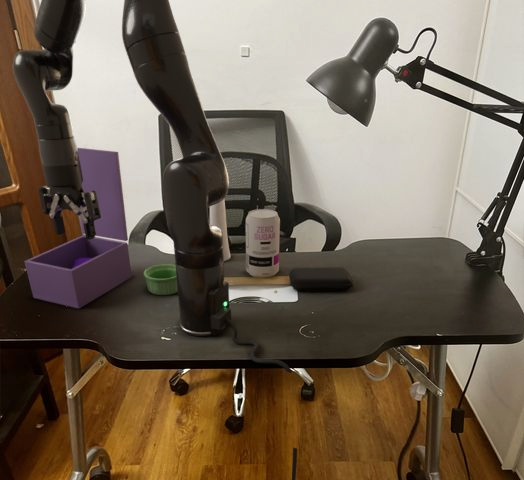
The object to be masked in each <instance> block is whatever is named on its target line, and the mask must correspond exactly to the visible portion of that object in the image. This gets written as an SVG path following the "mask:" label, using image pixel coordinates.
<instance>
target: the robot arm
mask: <svg viewBox="0 0 524 480" xmlns="http://www.w3.org/2000/svg"><path fill="white" fill-rule="evenodd" d="M86 4H87V2H86V0H41V1H40V4H39V8H38V11H37V14H36V17H35V21H34V24H33V25H34V26H33V35H34V39H35V40H36V42H37V43H38V44H39V45H40V46H41V47H42V48H43V49H21V50H19V51H17V52H16V53H15V54H14V57H13V60H12V73H13V76H14V79H15V82H16V84H17V86H18V89H19V90H20V92H21V94H22V96H23V98H24V100H25V103H26V105H27V107H28V109H29V111H30V113H31V115H32V118H33V123H34V128H35V132H36V137H37V143H38V152H39V158H40V161H41V166H42V170H43V175H44V180H45V184H46V185H43V186H40V187H38V189H37V190H38V196H39V202H40V206H41V211H42V213H43V215H48V216H49V217H50V219H51V221H52V226H53V229H54V230H53V231H54V232H55V234H56V235H60V236H61V235H63V234H65V233H66V228H65V223H64V219H63V216H62V214H63V211H64V210H68V211H70V212H71V211H72V212H73V213H74V214H75V215H76V216H79V219H80V218H81V219H82V220H83V222H84V223H83V225H84V230H85V234H84V235H85V236H86V239H88V240H91V239H93V238H94V237H97V236H96V231H95V226H94V221H95V220H97V219H100V218H101V214H100V209H99V205H98V200H97V195H96V192H95V191H94V190H93V191H89V192H84V190H83V188H82V182H83V176H82V170H81V165H80V159H79V154H78V149H77V148H78V145H77V141H76V138H75V134H74V128H73V123H72V118H71V113H70V111H69V109H68V107H67V106H65V105H63V104H59V103H53V102H52V101H51V100H50V98H49V96H48V94H47V92H53V91H62V90H64V89H65V88H67V87H68V86H69V85H70V83H71V81H72V79H73V76H74V60H75V44H76V42H77V40H78V37H79V35H80V32H81V29H82V26H83V23H84V20H85V15H86V10H87V9H86V8H87V7H86V6H87V5H86ZM121 38H122V44H123V46H124V50H125V53H126V56H127V58H128V62H129V64H130V67H131V70H132V72H133V76H134V78H135V80H136V82H137V85H138V86H139V87H140V90H141V91H142V92H143V93H144V95H145V97H146V98H147V99H148V100H149V102H150V103H151V104H152V106H154V108H155V109H156V110H157V111H158V112H159V114H160V115H161V116H162V117H163V118H164V120H165V121H166V122H167V123H168V125H169V126H170V128H171V130H172V131H173V133H174V136H175V138H176V140H177V144H178V146H179V149H180V151H181V155H182V157H181V158H178V159H174V160H172V161H171V162H170V163H168V164H167V165H166V166H165V169H164V171H163V174H162V197H163V204H164V211H165V217H166V218H165V219H166V225H167V228H168V232H169V234H170V237H171V238H172V242H173V252H174V265H176V277H177V288H178V292H177V298H178V309H179V324H180V325H179V326H180V327H179V328H180V329H181V331H182V332H184V333H185V334H187V335H189V336H195V337H209V336H210V337H211V336H212V337H217V336H219V334H221V332H222V331H225V329H226V328H227V327H228V326H229V328H230V329H231V330H232V341H233V342H234V343H235V344H236V345H239V346H251V345H252V346H254V347H253V349H252V350H251V351H250V353H249V358H250V360H251V361H252V362H254V363H256V364H261V365H262V364H263V365H277V366H280V367H282V368H283V370H285V372H287V373H288V374H292V372H293V371H292V369H291V368H290V366H289V365H288V364H287V363H285V362H283V361H282V360H279V359H274V358H258V357H256V356H255V355H256V354H257V352H258V350H259V349H260V345H259V343H258V342H257V341H256V340H253V339H251V340H250V339H249V340H240V339H238V329H237V327H236V325H235V324H234V323H233V322H232V309H231V308H230V287H229V285H230V284H229V281H228V280H225V263H224V262H225V261H224V260H223V259H224V258H223V234H222V231H221V230H220V229H219V228H218V227H216V226H213V225H210V219H209V212H208V211H209V210H208V208H210V206H212V205H215V204H217V203H219V202H221V201H222V200H223V199H224V200H225V199H226V197H227V195H228V192H229V188H230V179H229V173H228V170H227V166H226V163H225V161H224V158H223V156H222V154H221V151H220V149H219V146H218V144H217V141H216V139H215V137H214V134H213V132H212V130H211V127H210V125H209V122H208V120H207V117H206V114H205V111H204V108H203V105H202V102H201V101H202V100H201V98H200V95H199V92H198V90H197V87H196V84H195V80H194V78H193V74H192V71H191V68H190V64H189V60H188V57H187V54H186V50H185V47H184V44H183V40H182V38H181V34H180V32H179V28H178V25H177V23H176V20H175V17H174V14H173V10H172V8H171V4H170V0H123V10H122V18H121ZM81 206H82V207H83V208H81V209H80V207H81ZM93 209H94V212H93ZM84 213H85V214H86V215H87V216H88V217H87V216H86V215H85V214H84ZM94 213H95V214H94ZM291 463H292V464H291V466H292V467H291V480H297V467H298V465H297V464H298V448H296V447H292V462H291Z"/></svg>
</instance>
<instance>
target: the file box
mask: <svg viewBox="0 0 524 480" xmlns="http://www.w3.org/2000/svg"><path fill="white" fill-rule="evenodd" d="M79 258H92V259H90V260H88V261H87V262H85V263H83V264H81V265H79V266H77V267H75V268H73V265H74V262H75V260H76V259H79ZM24 265H25V270H26V273H27V277H28V280H29V284H30V285H29V286H30V290H31V294H32V297H33V299H37V300H41V301H45V302H50V303H53V304H58V305H62V306H67V307H71V308H74V309H78V310H79V309H81V308H82V307H85V306H86V305H88V304H89V303H91V302H93V301H94V300H96V299H97V298H99V297H101V296H102V295H105V294H106V293H108V292H109V291H111V290H113V289H114V288H116V287H118V286H119V285H121V284H123V283H124V282H126V281H128V280H129V279H131V278H133V277H132V275H133V274H132V267H131V260H130V252H129V246H128V242H127V241H121V240H116V239H110V238H104V237H99V236H95V237H94V238H93V239H91V240H88V239H86V236H85V234H82V235H81V236H78V237H76V238H74V239H71V240H69V241H67V242H65V243H62V244H60V245H58V246H56V247H53V248H51V249H49V250H47V251H44V252H42V253H39V254H37V255H35V256H33V257H30V258H29V259H26V260H24ZM72 268H73V269H72Z"/></svg>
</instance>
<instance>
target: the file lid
mask: <svg viewBox="0 0 524 480" xmlns="http://www.w3.org/2000/svg"><path fill="white" fill-rule="evenodd" d="M77 149H78V154H79V159H80V165H81V170H82V176H83V182H82V188H83V190H84V192H89V191H93V190H94V191H95V192H96V195H97V200H98V205H99V209H100V214H101V218H100V219H97V220H95V221H94V226H95V231H96V236H95V237H99V238H105V239H110V240H116V241H122V242H128V241H129V237H128V228H127V227H128V226H127V220H126V219H127V217H126V210H125V201H124V191H123V183H122V174H121V164H120V156H119V151H115V150H114V151H113V150H106V149H105V150H104V149H95V148H84V147H77ZM81 208H83V207H82V206H81V207H80V209H81ZM93 212H94V209H93ZM84 214H85V213H84ZM94 214H95V213H94ZM85 215H86V214H85ZM86 216H87V215H86ZM87 217H88V216H87ZM79 221H80V227H81V233H82V235H85V230H84V225H83V223H84V222H83V220H82V219H81V218H80V217H79Z"/></svg>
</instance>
